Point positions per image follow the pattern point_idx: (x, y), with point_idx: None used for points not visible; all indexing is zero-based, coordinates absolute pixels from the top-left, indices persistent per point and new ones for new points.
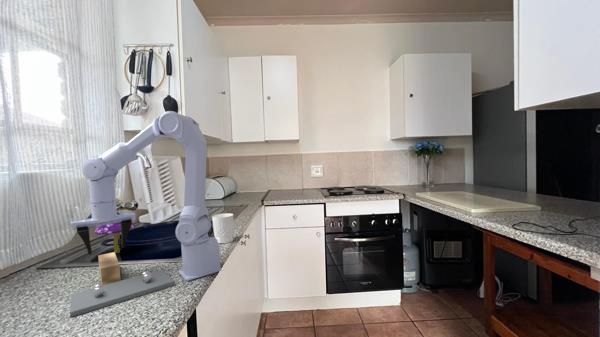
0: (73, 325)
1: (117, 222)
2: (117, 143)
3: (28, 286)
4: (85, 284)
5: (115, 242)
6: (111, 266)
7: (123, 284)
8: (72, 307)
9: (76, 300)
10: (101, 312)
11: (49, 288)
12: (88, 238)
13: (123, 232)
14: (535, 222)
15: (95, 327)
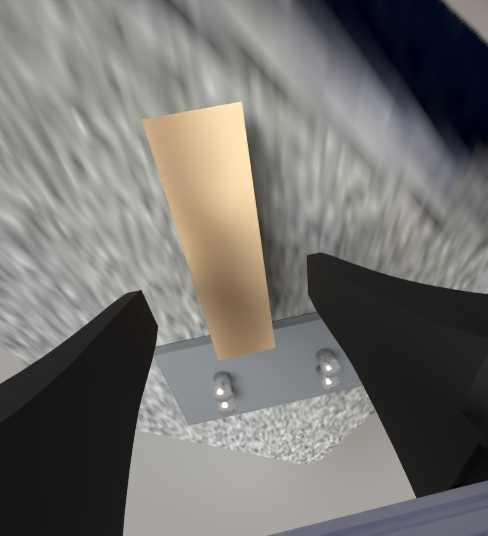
0: (203, 434)
1: (428, 510)
2: None
3: None
4: (156, 268)
5: None
6: (250, 352)
7: (272, 357)
8: (185, 412)
9: (182, 390)
10: (238, 417)
11: (20, 234)
12: (124, 457)
13: (376, 396)
14: None
15: (236, 445)
